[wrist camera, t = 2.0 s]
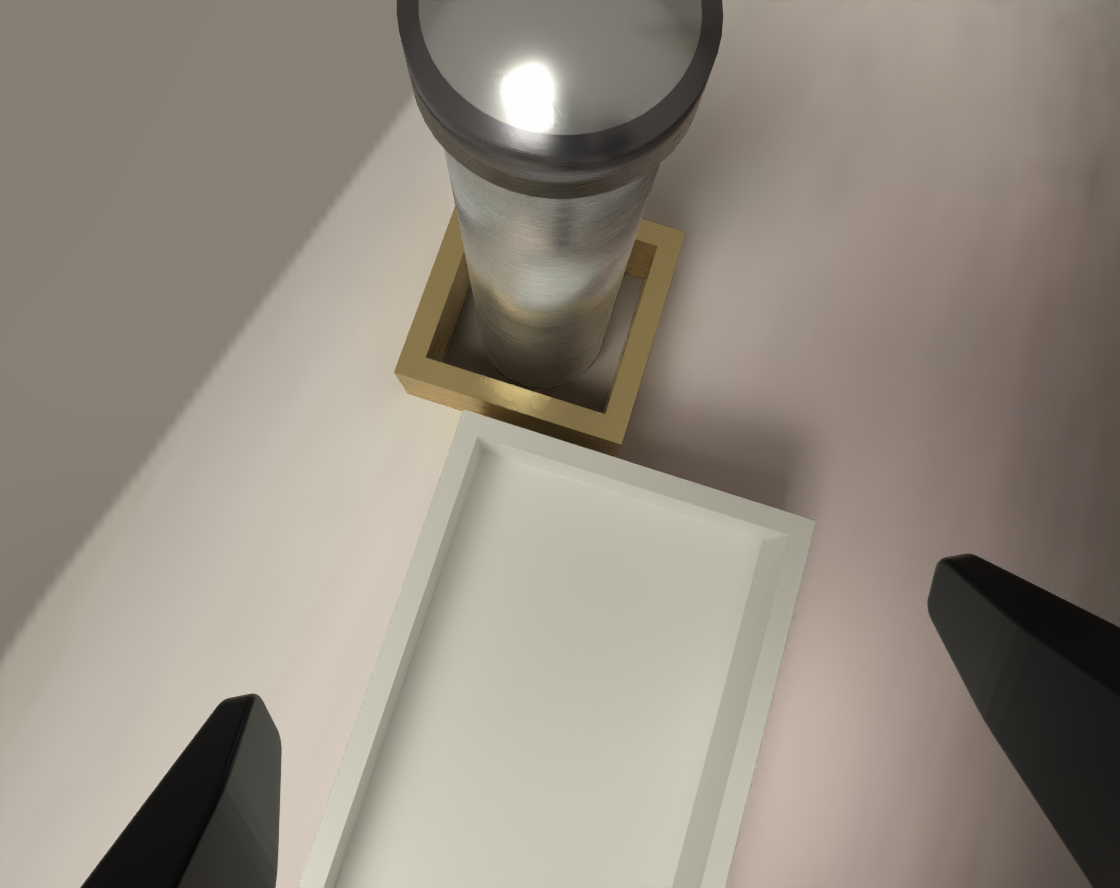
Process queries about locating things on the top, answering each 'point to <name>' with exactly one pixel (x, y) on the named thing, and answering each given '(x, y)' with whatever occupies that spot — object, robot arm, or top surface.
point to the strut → (554, 152)
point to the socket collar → (516, 404)
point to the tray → (565, 678)
